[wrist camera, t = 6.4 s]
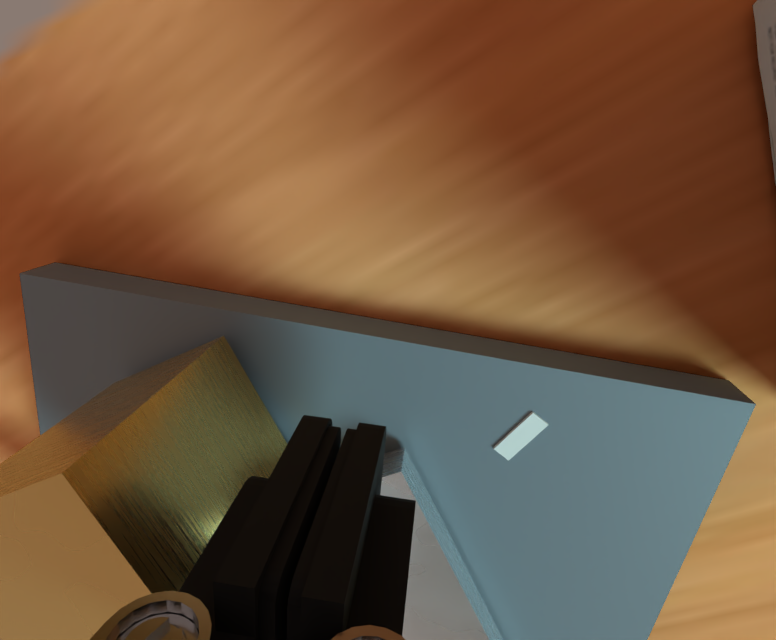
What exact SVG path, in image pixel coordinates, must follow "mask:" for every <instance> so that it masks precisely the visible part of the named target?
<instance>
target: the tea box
mask: <svg viewBox="0 0 776 640" xmlns="http://www.w3.org/2000/svg"><path fill="white" fill-rule="evenodd" d="M753 12H754V18H755V25H756V38H757V51H758V61H759V67H760V74H761V80H762V86H763V92H764V98H765V104H766V110H767V115H768V124H769V134H770V142H771V151H772V159H773V167H774V175H775V184H776V0H757V1H756V2H755V3H754V5H753Z"/></svg>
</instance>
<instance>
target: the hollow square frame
mask: <svg viewBox="0 0 776 640" xmlns="http://www.w3.org/2000/svg"><path fill="white" fill-rule="evenodd" d="M286 446H287V442H286V441H285V439H284V437H283V436H282V434H281V432H280V430H279V429H278V427H277V425H276V424H275V422H274V420H273V419H272V417H271V415H270V413H269V412H268V410H267V408H266V407H265V405H264V403H263V401H262V400H261V398H260V396H259V395H258V393H257V391H256V390H255V388H254V386H253V384H252V383H251V381H250V379H249V378H248V376H247V374H246V372H245V371H244V369H243V367H242V366H241V364H240V362H239V361H238V359H237V357H236V355H235V354H234V352H233V350H232V349H231V347H230V345H229V344H228V342H227V340H226V338H225V337H224V336H222V337H220V338H217V339H215V340H213V341H210V342H208V343H206V344H203V345H201V346H199V347H196V348H194V349H192V350H189V351H187V352H185V353H183V354H180V355H178V356H176V357H173V358H171V359H169V360H166V361H164V362H162V363H159V364H157V365H155V366H152V367H150V368H148V369H145V370H143V371H141V372H138V373H136V374H134V375H132V376H129V377H127V378H125V379H122V380H120V381H118V382H115V383H113V384H112V385H110V386H109V387H107V388H106V389H105V390H103V391H102V392H100V393H99V394H98V395H96V396H95V397H93V398H92V399H91V400H89V401H88V402H86V403H85V404H84V405H82V406H81V407H79V408H78V409H77V410H75V411H74V412H72V413H71V414H70V415H68V416H67V417H65V418H64V419H63V420H61V421H60V422H58V423H57V424H56V425H54V426H53V427H51V428H50V429H49V430H47V431H46V432H44V433H43V434H42V435H40V436H39V437H37V438H36V439H35V440H33V441H32V442H30V443H29V444H28V445H26V446H25V447H23V448H22V449H21V450H19V451H18V452H16V453H15V454H14V455H12V456H11V457H9V458H8V459H7V460H5V461H4V462H2V463H1V464H0V640H90V639H91V637H92V636H93V635H94V634H95V633H96V632H97V631H98V630H99V629H100V628H101V626H102V625H103V624H104V623H105V622H106V621H107V620H108V619H109V618H111V617H112V616H113V615H114V614H115V613H116V612H117V611H118V610H119V609H121V608H122V607H124V606H126V605H127V604H129V603H131V602H133V601H134V600H136V599H138V598H141V597H144V596H146V595H149V594H152V593H155V592H165V591H179V590H180V588H181V586H182V585H183V583H184V582H185V580H186V578H187V577H188V575H189V573H190V572H191V570H192V568H193V567H194V565H195V563H196V562H197V560H198V559H199V557H200V555H201V554H202V552H203V550H204V549H205V547H206V545H207V544H208V542H209V540H210V539H211V537H212V535H213V534H214V532H215V531H216V529H217V527H218V526H219V524H220V522H221V521H222V519H223V517H224V516H225V514H226V512H227V511H228V509H229V508H230V506H231V504H232V503H233V501H234V499H235V498H236V496H237V494H238V493H239V491H240V489H241V488H242V486H243V484H244V483H245V482H246V480H247V479H248V478H249V477H251V476H257V477H263V478H269V477H270V475H271V473H272V472H273V470H274V468H275V466H276V464H277V462H278V461H279V459H280V457H281V455H282V453H283V451H284V449H285V448H286ZM380 495H382V496H389V497H396V498H402V499H409V500H415V501H416V505H415V515H414V525H413V534H412V544H411V554H410V564H409V574H408V584H407V593H406V603H405V613H404V623H403V633H402V637H403V638H404V639H405V640H503V638H502V636H501V634H500V632H499V630H498V628H497V626H496V624H495V622H494V620H493V618H492V616H491V614H490V612H489V610H488V608H487V606H486V604H485V602H484V600H483V599H482V597H481V595H480V593H479V591H478V589H477V587H476V585H475V583H474V581H473V579H472V577H471V575H470V573H469V571H468V569H467V567H466V565H465V563H464V561H463V559H462V557H461V556H460V554H459V552H458V550H457V548H456V546H455V544H454V542H453V540H452V538H451V536H450V534H449V532H448V530H447V528H446V526H445V524H444V522H443V520H442V518H441V516H440V514H439V513H438V511H437V509H436V507H435V505H434V503H433V501H432V499H431V497H430V495H429V493H428V491H427V489H426V487H425V485H424V483H423V481H422V479H421V477H420V475H419V473H418V471H417V470H416V468H415V466H414V464H413V462H412V460H411V458H410V456H409V454H408V452H407V450H406V448H405V447H404V448H401V449H398V450H395V451H392V452H389V453H385V454H384V462H383V472H382V483H381V493H380Z"/></svg>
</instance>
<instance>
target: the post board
mask: <svg viewBox="0 0 776 640" xmlns="http://www.w3.org/2000/svg"><path fill="white" fill-rule="evenodd" d="M20 281H21V289H22V296H23V304H24V312H25V319H26V327H27V335H28V343H29V350H30V358H31V366H32V374H33V381H34V389H35V397H36V404H37V412H38V420H39V428H40V435H42V434H43V433H44V432H46V431H47V430H49V429H50V428H51V427H53V426H54V425H56V424H57V423H58V422H60V421H61V420H63V419H64V418H65V417H67V416H68V415H70V414H71V413H72V412H74V411H75V410H77V409H78V408H79V407H81V406H82V405H84V404H85V403H86V402H88V401H89V400H91V399H92V398H93V397H95V396H96V395H98V394H99V393H100V392H102V391H103V390H105V389H106V388H107V387H109V386H110V385H112V384H113V383H115V382H118V381H120V380H122V379H125V378H127V377H129V376H132V375H134V374H136V373H138V372H141V371H143V370H145V369H148V368H150V367H152V366H155V365H157V364H159V363H162V362H164V361H166V360H169V359H171V358H173V357H176V356H178V355H180V354H183V353H185V352H187V351H189V350H192V349H194V348H196V347H199V346H201V345H203V344H206V343H208V342H210V341H213V340H215V339H217V338H220V337H222V336H224V337H225V338H226V340H227V342H228V344H229V345H230V347H231V349H232V350H233V352H234V354H235V355H236V357H237V359H238V361H239V362H240V364H241V366H242V367H243V369H244V371H245V372H246V374H247V376H248V378H249V379H250V381H251V383H252V384H253V386H254V388H255V390H256V391H257V393H258V395H259V396H260V398H261V400H262V401H263V403H264V405H265V407H266V408H267V410H268V412H269V413H270V415H271V417H272V419H273V420H274V422H275V424H276V425H277V427H278V429H279V430H280V432H281V434H282V436H283V437H284V439H285V441H286V442H287V444H288V442H289V440H290V438H291V437H292V435H293V433H294V431H295V429H296V427H297V426H298V424H299V422H300V420H301V418H302V417H303V415H309V416H316V417H323V418H331V419H332V426H335V427H340V428H341V444H342V441H343V438H344V436H345V433H346V430H347V429H348V428H349V429H357V426H358V424H359V423H367V424H374V425H381V426H386V441H385V451H384V454H385V453H389V452H392V451H395V450H398V449H401V448H404V447H405V448H406V450H407V452H408V454H409V456H410V458H411V460H412V462H413V464H414V466H415V468H416V470H417V471H418V473H419V475H420V477H421V479H422V481H423V483H424V485H425V487H426V489H427V491H428V493H429V495H430V497H431V499H432V501H433V503H434V505H435V507H436V509H437V511H438V513H439V514H440V516H441V518H442V520H443V522H444V524H445V526H446V528H447V530H448V532H449V534H450V536H451V538H452V540H453V542H454V544H455V546H456V548H457V550H458V552H459V554H460V556H461V557H462V559H463V561H464V563H465V565H466V567H467V569H468V571H469V573H470V575H471V577H472V579H473V581H474V583H475V585H476V587H477V589H478V591H479V593H480V595H481V597H482V599H483V600H484V602H485V604H486V606H487V608H488V610H489V612H490V614H491V616H492V618H493V620H494V622H495V624H496V626H497V628H498V630H499V632H500V634H501V636H502V638H503V640H647V639H648V637H649V635H650V632H651V630H652V628H653V626H654V624H655V622H656V619H657V617H658V615H659V613H660V611H661V609H662V606H663V604H664V602H665V600H666V598H667V596H668V593H669V591H670V589H671V587H672V585H673V583H674V580H675V578H676V576H677V574H678V572H679V570H680V567H681V565H682V563H683V561H684V559H685V557H686V554H687V552H688V550H689V548H690V546H691V544H692V542H693V539H694V537H695V535H696V533H697V531H698V529H699V526H700V524H701V522H702V520H703V518H704V516H705V513H706V511H707V509H708V507H709V505H710V503H711V500H712V498H713V496H714V494H715V492H716V490H717V487H718V485H719V483H720V481H721V479H722V477H723V474H724V472H725V470H726V468H727V466H728V464H729V461H730V459H731V457H732V455H733V453H734V451H735V448H736V446H737V444H738V442H739V440H740V438H741V435H742V433H743V431H744V429H745V427H746V425H747V422H748V420H749V418H750V416H751V414H752V412H753V409H754V407H755V405H756V404H755V403H754V402H753V401H752V400H750V399H749V398H748V397H747V396H746V395H745V394H744V393H742V392H741V391H740V390H739V389H738V388H737V387H736V386H734V385H733V384H732V383H731V382H730V381H729V380H723V379H717V378H712V377H706V376H700V375H694V374H689V373H683V372H677V371H672V370H666V369H660V368H655V367H649V366H643V365H637V364H632V363H626V362H620V361H615V360H609V359H603V358H597V357H592V356H586V355H580V354H575V353H569V352H563V351H558V350H552V349H546V348H540V347H535V346H529V345H523V344H518V343H512V342H506V341H500V340H495V339H489V338H483V337H478V336H472V335H466V334H461V333H455V332H449V331H443V330H438V329H432V328H426V327H421V326H415V325H409V324H404V323H398V322H392V321H386V320H381V319H375V318H369V317H364V316H358V315H352V314H346V313H341V312H335V311H329V310H324V309H318V308H312V307H307V306H301V305H295V304H289V303H284V302H278V301H272V300H267V299H261V298H255V297H249V296H244V295H238V294H232V293H227V292H221V291H215V290H210V289H204V288H198V287H192V286H187V285H181V284H175V283H170V282H164V281H158V280H153V279H147V278H141V277H135V276H130V275H124V274H118V273H113V272H107V271H101V270H95V269H90V268H84V267H78V266H73V265H67V264H61V263H56V262H55V263H52V264H48V265H45V266H42V267H39V268H35V269H32V270H29V271H25V272H22V273H20ZM340 447H341V446H340Z"/></svg>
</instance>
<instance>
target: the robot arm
mask: <svg viewBox="0 0 776 640" xmlns="http://www.w3.org/2000/svg"><path fill="white" fill-rule="evenodd" d="M385 441H386V426H381V425H374V424H367V423H359V424H358V426H357V429H349V428H348V429H347V430H346V433H345V436H344V438H343V441H342V444H341V428H340V427H335V426H332V419H331V418H323V417H316V416H309V415H303V417H302V418H301V420H300V422H299V424H298V426H297V427H296V429H295V431H294V433H293V435H292V437H291V438H290V440H289V442H288V444H287V446H286V448H285V449H284V451H283V453H282V455H281V457H280V459H279V461H278V462H277V464H276V466H275V468H274V470H273V472H272V473H271V475H270V477H269V478H263V477H257V476H251V477H249V478H248V479H247V480H246V482H245V483H244V484H243V486H242V488H241V489H240V491H239V493H238V494H237V496H236V498H235V499H234V501H233V503H232V504H231V506H230V508H229V509H228V511H227V512H226V514H225V516H224V517H223V519H222V521H221V522H220V524H219V526H218V527H217V529H216V531H215V532H214V534H213V535H212V537H211V539H210V540H209V542H208V544H207V545H206V547H205V549H204V550H203V552H202V554H201V555H200V557H199V559H198V560H197V562H196V563H195V565H194V567H193V568H192V570H191V572H190V573H189V575H188V577H187V578H186V580H185V582H184V583H183V585H182V586H181V588H180V590H179V591H165V592H155V593H152V594H149V595H146V596H144V597H141V598H138V599H136V600H134V601H133V602H131V603H129V604H127V605H126V606H124V607H122V608H121V609H119V610H118V611H117V612H116V613H115V614H114V615H113V616H112V617H111V618H109V619H108V620H107V621H106V622H105V623H104V624H103V625H102V626H101V628H100V629H99V630H98V631H97V632H96V633H95V634H94V635H93V636H92V637H91V639H90V640H405V639H404V638H403V637H402V633H403V623H404V613H405V603H406V593H407V584H408V574H409V564H410V554H411V544H412V534H413V525H414V515H415V505H416V501H415V500H409V499H402V498H396V497H389V496H382V495H380V493H381V483H382V472H383V462H384V451H385ZM340 446H341V447H340Z"/></svg>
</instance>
